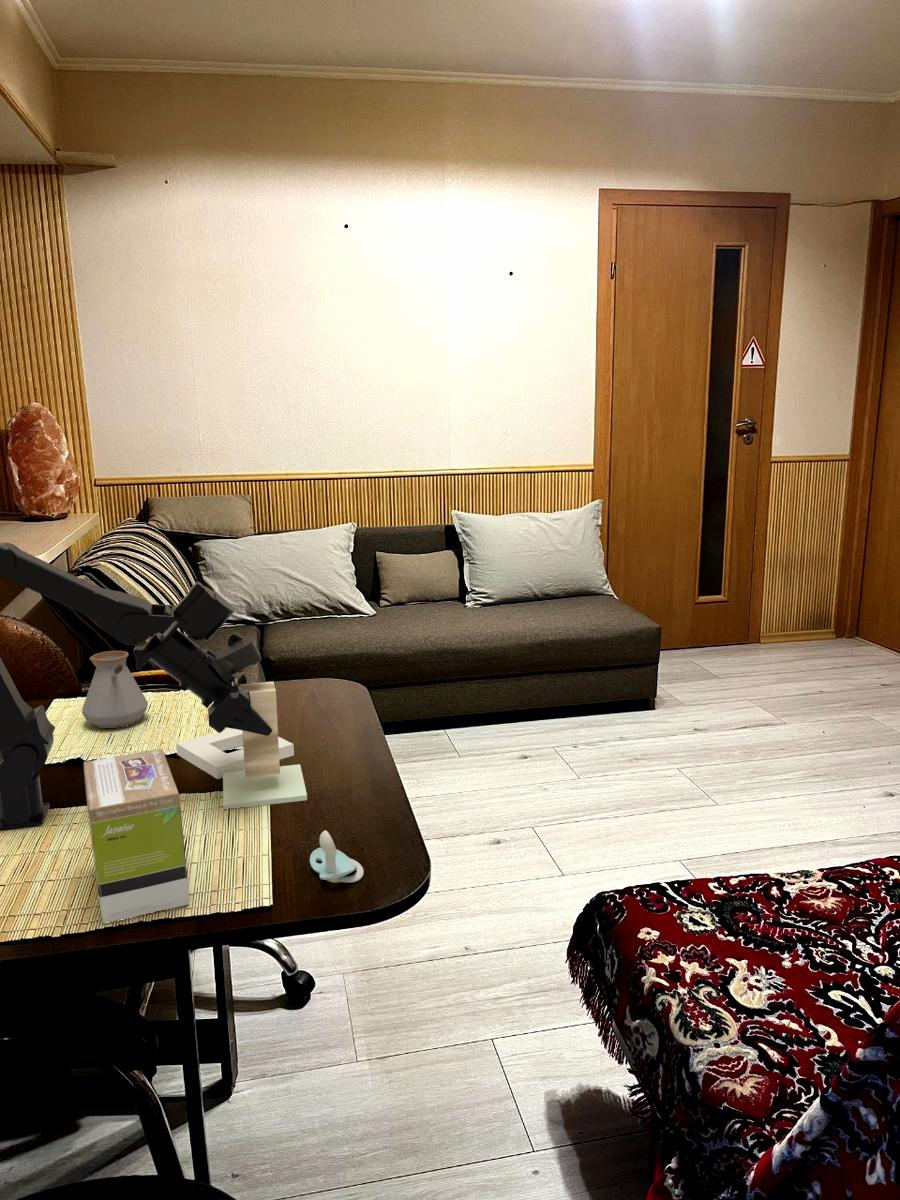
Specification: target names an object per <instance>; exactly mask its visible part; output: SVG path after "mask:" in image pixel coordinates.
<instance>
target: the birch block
mask: <svg viewBox="0 0 900 1200" xmlns="http://www.w3.org/2000/svg"><path fill="white" fill-rule="evenodd" d="M240 687H241V688H242V689H243V690H244V691H245V692H246V693H247V692H248V691H249V693H250V697H251V706H252V707H253V708H254V710H255V711H256V712H257V713H258V714H259V715H260V716H261V717H262V718H263V720H264V721H265V722H266V723H267V724H268V725H269V726H270V727H271V729H272V732H271V734H270V735H269V736H266V735H261V734H257V733H252V732H248V731H243V730H242V733H243V745H242V746H243V748H242V749H243V750H244V766H245V774H246V778H250V777H259V776H268V775H277V774H280V766H281V765H280V764H281V763H280V760H279V743H278V737H279V728H278V727H279V726H278V706H277V705H278V704H277V691H276V686H275V683H274V681H265V682H264V681H262V682H253V683H252V682H251V683H247V684H240Z"/></svg>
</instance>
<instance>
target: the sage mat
mask: <svg viewBox="0 0 900 1200" xmlns="http://www.w3.org/2000/svg"><path fill="white" fill-rule="evenodd" d="M222 782H223V783H222V792H223V794H222V795H223V796H222V797H223V799H222V800H223V801H222V803H223V810H224V809H226V808H236V809H241V808H240V807H244V808H252V806H253V807H259V806H260V807H261V806H267V805H268V806H269V805H277V804H286V803H293V802H302V801H308V794H307V789H306V785H305V780H304V775H303V771H302V767H301V764H300V763H299V764H291V765H282V766H281V765H280V774H277V775H268V776H259V777H250V778H246V774H245V770H243V771H234V772H224V773H223V778H222Z"/></svg>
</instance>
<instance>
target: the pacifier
mask: <svg viewBox="0 0 900 1200" xmlns="http://www.w3.org/2000/svg"><path fill="white" fill-rule="evenodd" d="M318 842H319V846H320V847H317V848H315V849H314V850H313V851H312V852H311V854H310V855H309V863H310V867H311V868H312V870H314V871H315V872H316V873H318V874H319V878H320V880H325V881H327V882H329V883H335V884H336V883H345V884H346V883H355V882H359V881H360V880H361V879H362V878H363V876H364V872H365V871H364V867H363V866H362V865H361V863H359V862H358V861H357V860H355V859H353V858H350V857H349V856H347V854H345V853H344V852H342V851H341V850H339V849H337V848H336V845H335V843H334V840H333V838H332V836H331V834H330V833H329V832H328V831H327V830H326V829H325V830H324V831H322V832H321V833H320V835H319V841H318ZM317 861H320V862H321V863H319V862H317ZM354 871H356V872H355V873H354V874H352V875H349V874H351V873H353V872H354ZM347 875H349V876H347Z"/></svg>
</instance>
